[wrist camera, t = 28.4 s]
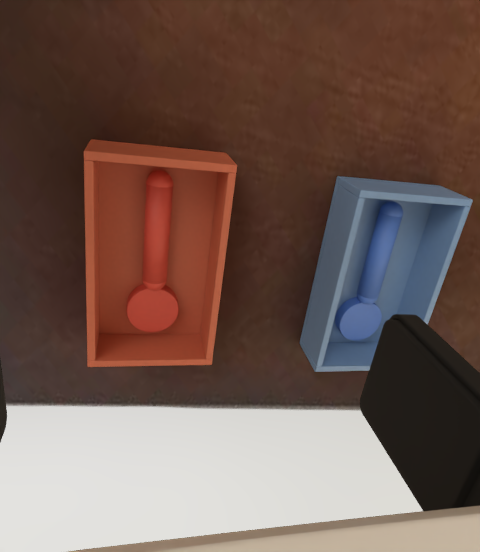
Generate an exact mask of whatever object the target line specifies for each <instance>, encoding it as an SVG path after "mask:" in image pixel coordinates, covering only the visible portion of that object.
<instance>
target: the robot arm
mask: <svg viewBox="0 0 480 552" xmlns="http://www.w3.org/2000/svg"><path fill="white" fill-rule="evenodd" d="M360 408H361V411H362V413H363V415H364V417H365V418H366V420H367V422H368V423H369V425H370V426H371V428H372V430H373V431H374V433H375V434H376V436H377V437H378V439H379V441H380V442H381V444H382V445H383V447H384V449H385V450H386V451H387V454H388V455H389V456H390V458H391V460H392V462H393V463H394V465H395V466H396V468H397V470H398V471H399V473H400V474H401V476H402V477H403V479H404V481H405V482H406V484H407V485H408V487H409V488H410V490H411V492H412V493H413V495H414V497H415V498H416V500H417V501H418V503H419V505H420V506H421V508H422V509H423V512H414V513H404V514H395V515H384V516H375V517H366V518H357V519H348V520H339V521H330V522H320V523H311V524H302V525H293V526H284V527H275V528H266V529H257V530H248V531H239V532H230V533H221V534H213V535H204V536H197V537H187V538H178V539H170V540H161V541H153V542H144V543H136V544H127V545H119V546H111V547H102V548H93V549H84V550H76V551H69V552H480V373H479V372H478V371H477V370H476V369H475V368H473V367H472V366H471V365H470V364H469V363H468V362H467V361H466V360H465V359H464V358H463V357H462V356H461V355H459V354H458V353H457V352H456V351H455V350H454V349H453V348H452V347H451V346H450V345H449V344H448V343H447V342H445V341H444V340H443V339H442V338H441V337H440V336H439V335H438V334H437V333H436V332H435V331H434V330H433V329H432V328H430V327H429V326H428V325H427V324H426V323H425V322H424V321H423V320H422V319H421V318H420V317H418V316H417V315H413V314H395V315H392V316H391V318H390V319H389V320H386V322H385V323H384V325H383V328H382V332H381V335H380V338H379V341H378V344H377V347H376V351H375V354H374V357H373V360H372V363H371V366H370V370H369V373H368V376H367V379H366V382H365V385H364V389H363V392H362V395H361V398H360ZM6 420H7V410H6V402H5V394H4V385H3V377H2V369H1V360H0V442H1V439H2V436H3V433H4V430H5V427H6Z"/></svg>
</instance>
